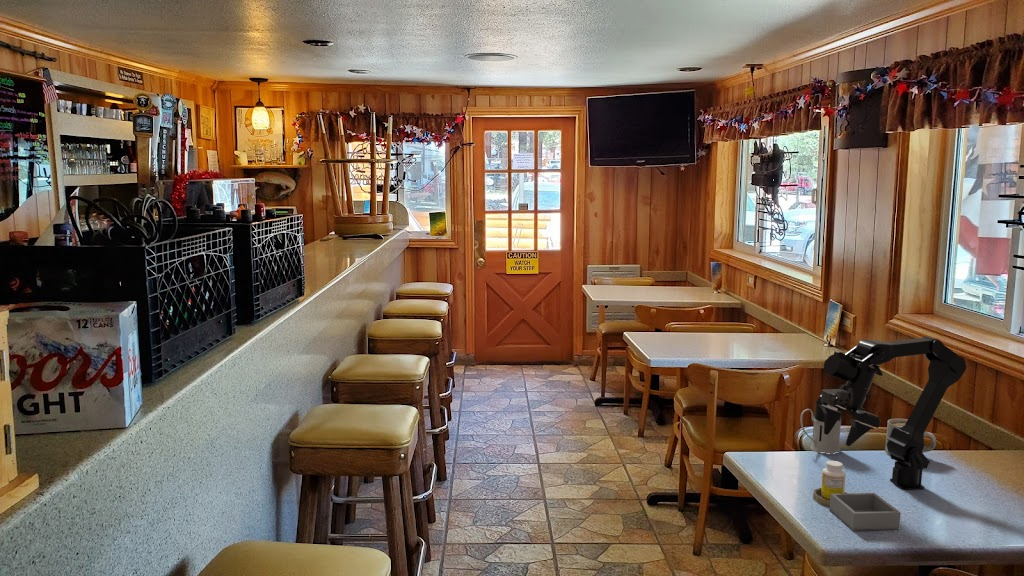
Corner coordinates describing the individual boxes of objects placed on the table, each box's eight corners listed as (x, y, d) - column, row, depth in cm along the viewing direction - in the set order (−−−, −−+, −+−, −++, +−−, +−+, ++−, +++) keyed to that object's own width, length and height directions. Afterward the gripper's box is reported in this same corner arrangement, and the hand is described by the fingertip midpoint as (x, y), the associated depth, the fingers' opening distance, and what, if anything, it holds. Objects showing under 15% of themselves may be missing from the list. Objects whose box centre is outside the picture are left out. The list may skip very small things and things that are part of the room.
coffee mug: (880, 454, 234) (883, 423, 232) (890, 446, 241) (893, 416, 239) (928, 465, 225) (931, 433, 223) (937, 457, 232) (940, 425, 231)
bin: (873, 509, 194) (874, 492, 193) (899, 530, 182) (900, 512, 182) (829, 510, 193) (830, 493, 192) (852, 531, 182) (854, 513, 181)
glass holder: (846, 453, 235) (850, 406, 233) (807, 457, 231) (811, 409, 229) (827, 443, 243) (830, 398, 241) (789, 447, 239) (792, 401, 237)
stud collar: (840, 492, 204) (840, 487, 204) (857, 507, 195) (858, 501, 195) (807, 493, 204) (807, 488, 203) (823, 507, 195) (823, 502, 194)
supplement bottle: (828, 494, 203) (830, 457, 202) (847, 501, 199) (850, 464, 197) (816, 499, 200) (818, 462, 199) (836, 506, 196) (838, 468, 194)
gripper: (812, 368, 209) (791, 420, 210) (857, 386, 191) (834, 443, 192) (844, 380, 212) (823, 431, 213) (891, 398, 194) (869, 455, 195)
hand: (836, 439), depth 203 cm, fingers open, 9 cm apart
